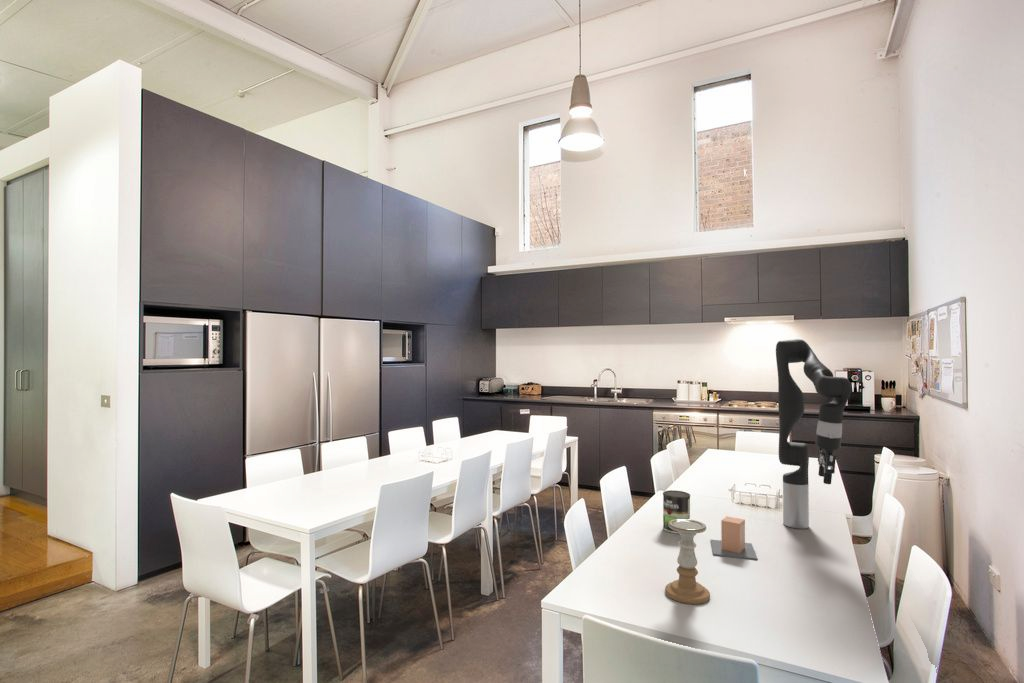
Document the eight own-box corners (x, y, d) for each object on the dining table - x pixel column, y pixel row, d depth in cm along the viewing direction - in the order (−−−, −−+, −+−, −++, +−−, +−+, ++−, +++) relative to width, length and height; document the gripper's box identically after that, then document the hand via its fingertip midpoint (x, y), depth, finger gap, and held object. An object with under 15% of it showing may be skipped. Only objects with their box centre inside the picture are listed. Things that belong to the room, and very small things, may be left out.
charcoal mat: (710, 540, 200) (710, 539, 200) (751, 544, 195) (751, 543, 196) (713, 555, 185) (713, 553, 185) (757, 560, 181) (757, 558, 181)
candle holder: (719, 601, 151) (719, 528, 151) (681, 607, 147) (681, 532, 148) (692, 583, 163) (692, 516, 163) (656, 588, 159) (656, 519, 159)
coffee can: (680, 535, 205) (680, 498, 205) (657, 529, 213) (657, 493, 213) (695, 530, 212) (695, 494, 212) (672, 523, 219) (672, 488, 220)
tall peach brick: (726, 544, 195) (726, 516, 195) (744, 548, 191) (744, 519, 191) (721, 549, 190) (721, 520, 190) (739, 553, 186) (739, 523, 186)
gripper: (812, 428, 194) (808, 472, 195) (820, 437, 181) (816, 484, 182) (836, 431, 192) (832, 475, 193) (846, 440, 178) (841, 488, 180)
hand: (824, 479), depth 188 cm, fingers open, 8 cm apart
